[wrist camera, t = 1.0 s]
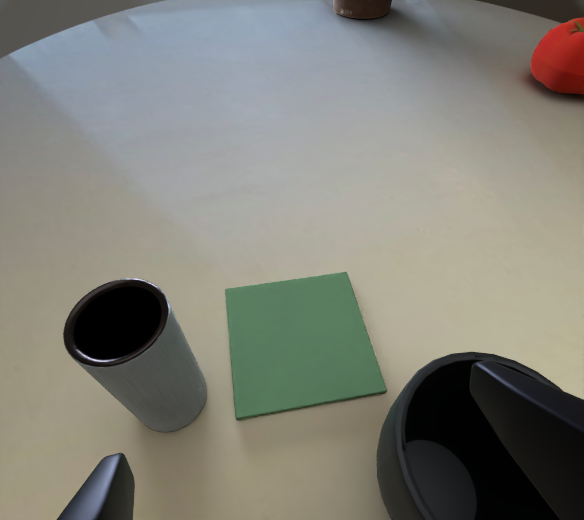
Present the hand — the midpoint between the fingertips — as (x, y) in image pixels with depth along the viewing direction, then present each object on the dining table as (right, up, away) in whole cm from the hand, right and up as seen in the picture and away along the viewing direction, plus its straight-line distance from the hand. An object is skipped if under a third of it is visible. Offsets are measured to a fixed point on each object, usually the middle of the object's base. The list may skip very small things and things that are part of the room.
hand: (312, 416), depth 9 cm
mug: (+9, -9, +12) cm, 18 cm away
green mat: (0, -2, +18) cm, 18 cm away
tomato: (+37, +28, +43) cm, 63 cm away
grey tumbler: (-8, -5, +15) cm, 18 cm away
